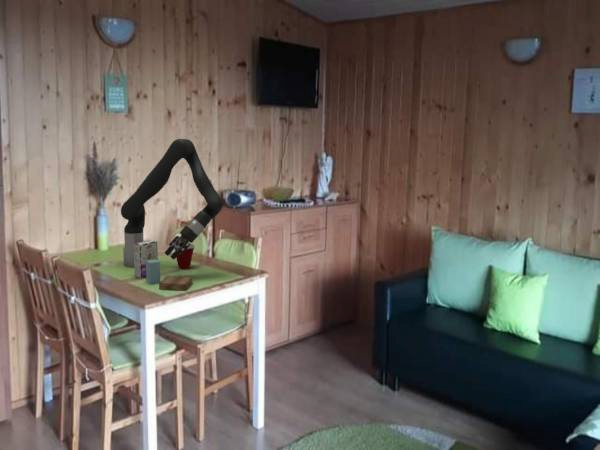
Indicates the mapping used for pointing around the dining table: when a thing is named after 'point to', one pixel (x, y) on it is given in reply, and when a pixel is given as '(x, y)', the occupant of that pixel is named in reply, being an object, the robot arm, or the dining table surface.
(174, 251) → the seated beast figurine
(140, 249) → the candy bar box
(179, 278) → the walnut board
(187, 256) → the plastic cup
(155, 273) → the teal block
